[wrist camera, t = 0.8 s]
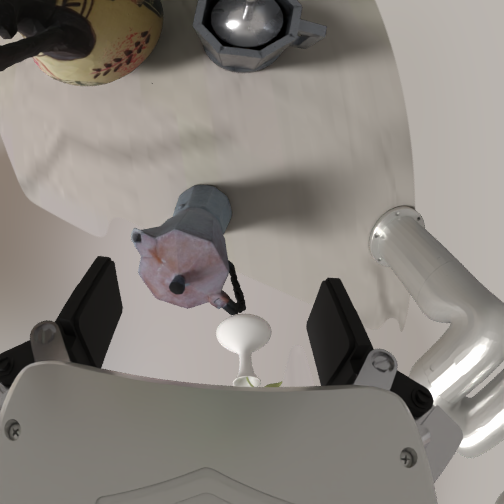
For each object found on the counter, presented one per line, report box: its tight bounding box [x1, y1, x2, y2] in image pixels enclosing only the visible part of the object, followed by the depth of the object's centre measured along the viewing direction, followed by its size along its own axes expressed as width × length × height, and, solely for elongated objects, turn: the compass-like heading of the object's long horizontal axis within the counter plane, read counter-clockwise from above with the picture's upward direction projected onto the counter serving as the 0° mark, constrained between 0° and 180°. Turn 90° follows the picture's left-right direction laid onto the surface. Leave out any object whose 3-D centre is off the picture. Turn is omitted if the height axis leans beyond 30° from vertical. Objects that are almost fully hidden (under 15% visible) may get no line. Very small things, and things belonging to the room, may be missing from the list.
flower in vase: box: [216, 314, 282, 387], centre depth 45 cm, size 13×11×25 cm
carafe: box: [193, 0, 327, 73], centre depth 23 cm, size 14×11×12 cm
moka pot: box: [131, 185, 246, 315], centre depth 33 cm, size 10×15×20 cm, turn 49°
